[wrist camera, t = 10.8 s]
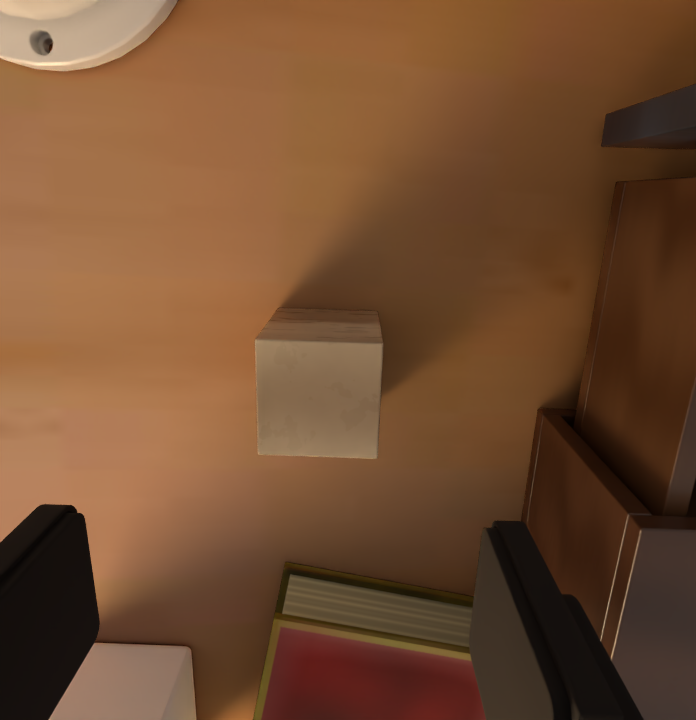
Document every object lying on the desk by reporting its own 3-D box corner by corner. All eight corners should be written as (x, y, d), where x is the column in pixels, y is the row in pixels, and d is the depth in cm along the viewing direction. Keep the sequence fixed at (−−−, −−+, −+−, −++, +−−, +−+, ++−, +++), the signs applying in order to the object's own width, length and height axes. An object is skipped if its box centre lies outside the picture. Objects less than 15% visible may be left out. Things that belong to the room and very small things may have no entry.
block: (277, 307, 24) (254, 338, 18) (377, 310, 24) (383, 343, 18) (278, 400, 25) (257, 455, 20) (373, 403, 25) (377, 459, 20)
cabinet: (537, 407, 25) (641, 528, 16) (800, 416, 25) (1059, 543, 16) (495, 686, 30) (556, 899, 21) (712, 695, 30) (868, 913, 21)
